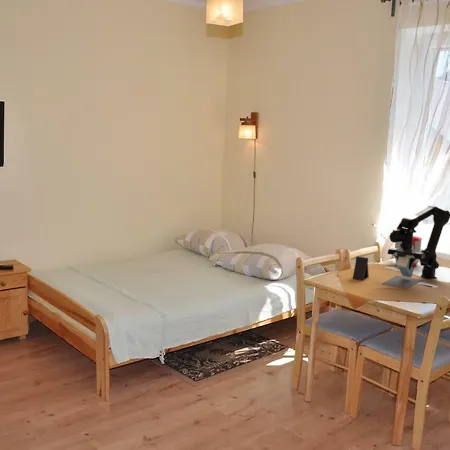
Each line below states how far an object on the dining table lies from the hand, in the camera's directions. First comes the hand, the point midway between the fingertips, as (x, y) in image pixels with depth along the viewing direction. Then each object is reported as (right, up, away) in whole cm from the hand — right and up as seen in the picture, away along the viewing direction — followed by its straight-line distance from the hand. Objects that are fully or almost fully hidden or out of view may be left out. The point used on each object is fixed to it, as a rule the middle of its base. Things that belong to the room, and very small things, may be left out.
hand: (404, 268), depth 300 cm
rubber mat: (-2, -7, -1) cm, 8 cm away
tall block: (+3, -3, +5) cm, 7 cm away
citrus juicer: (+13, -1, +36) cm, 38 cm away
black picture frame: (-23, -6, +7) cm, 24 cm away
